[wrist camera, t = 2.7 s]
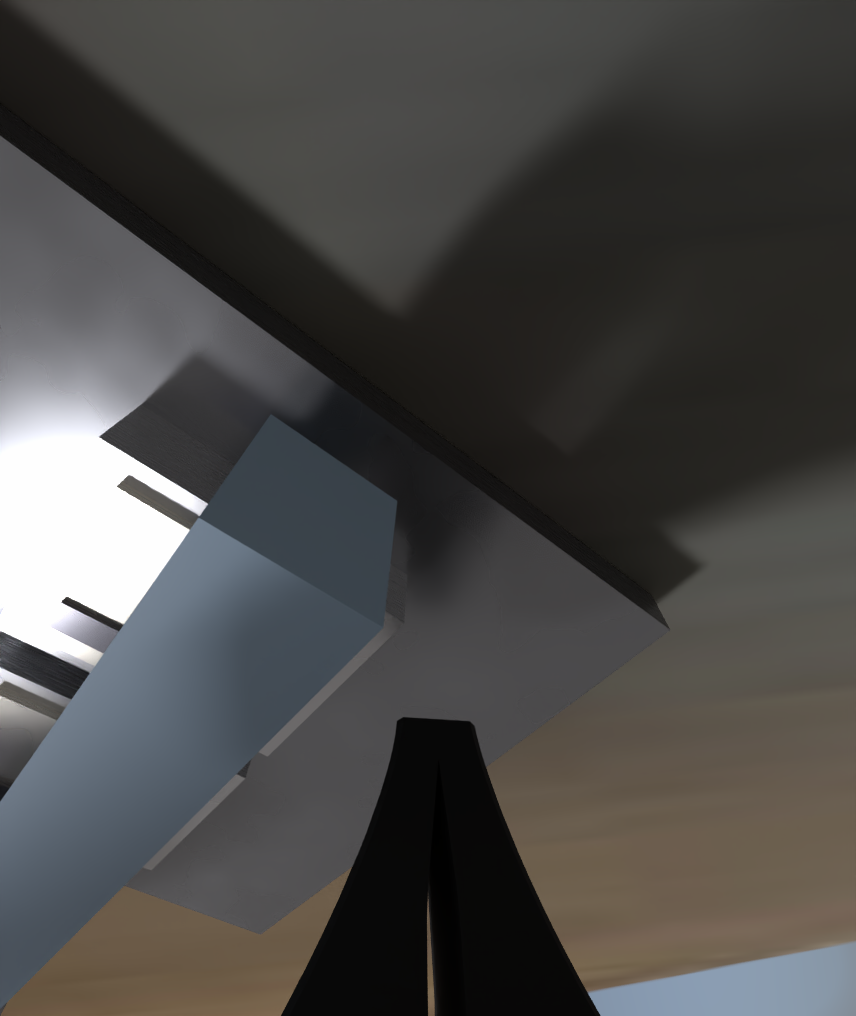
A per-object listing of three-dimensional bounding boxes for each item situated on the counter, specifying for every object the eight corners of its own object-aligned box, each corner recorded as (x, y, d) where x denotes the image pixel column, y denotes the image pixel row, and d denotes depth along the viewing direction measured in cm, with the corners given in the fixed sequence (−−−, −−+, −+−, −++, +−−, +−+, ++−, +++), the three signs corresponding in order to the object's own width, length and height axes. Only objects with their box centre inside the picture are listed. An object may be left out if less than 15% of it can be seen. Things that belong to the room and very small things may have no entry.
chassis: (269, 896, 21) (245, 999, 18) (-356, 656, 15) (-522, 756, 12) (652, 595, 14) (704, 692, 11) (-251, -86, 8) (-586, -216, 5)
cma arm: (28, 942, 16) (-47, 1083, 13) (-97, 904, 15) (-203, 1049, 12) (423, 518, 9) (419, 650, 6) (238, 391, 8) (149, 488, 5)
